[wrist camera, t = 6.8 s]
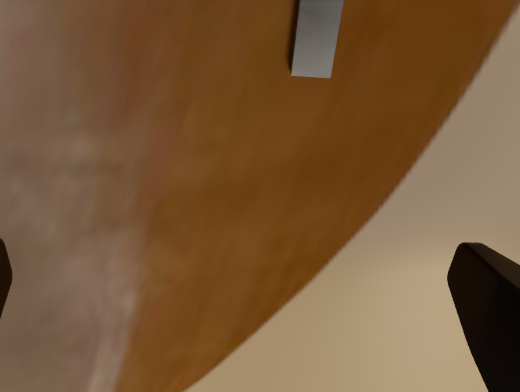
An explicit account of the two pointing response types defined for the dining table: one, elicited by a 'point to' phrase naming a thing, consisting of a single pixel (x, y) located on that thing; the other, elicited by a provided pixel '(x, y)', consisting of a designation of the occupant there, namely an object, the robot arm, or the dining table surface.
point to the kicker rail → (315, 37)
